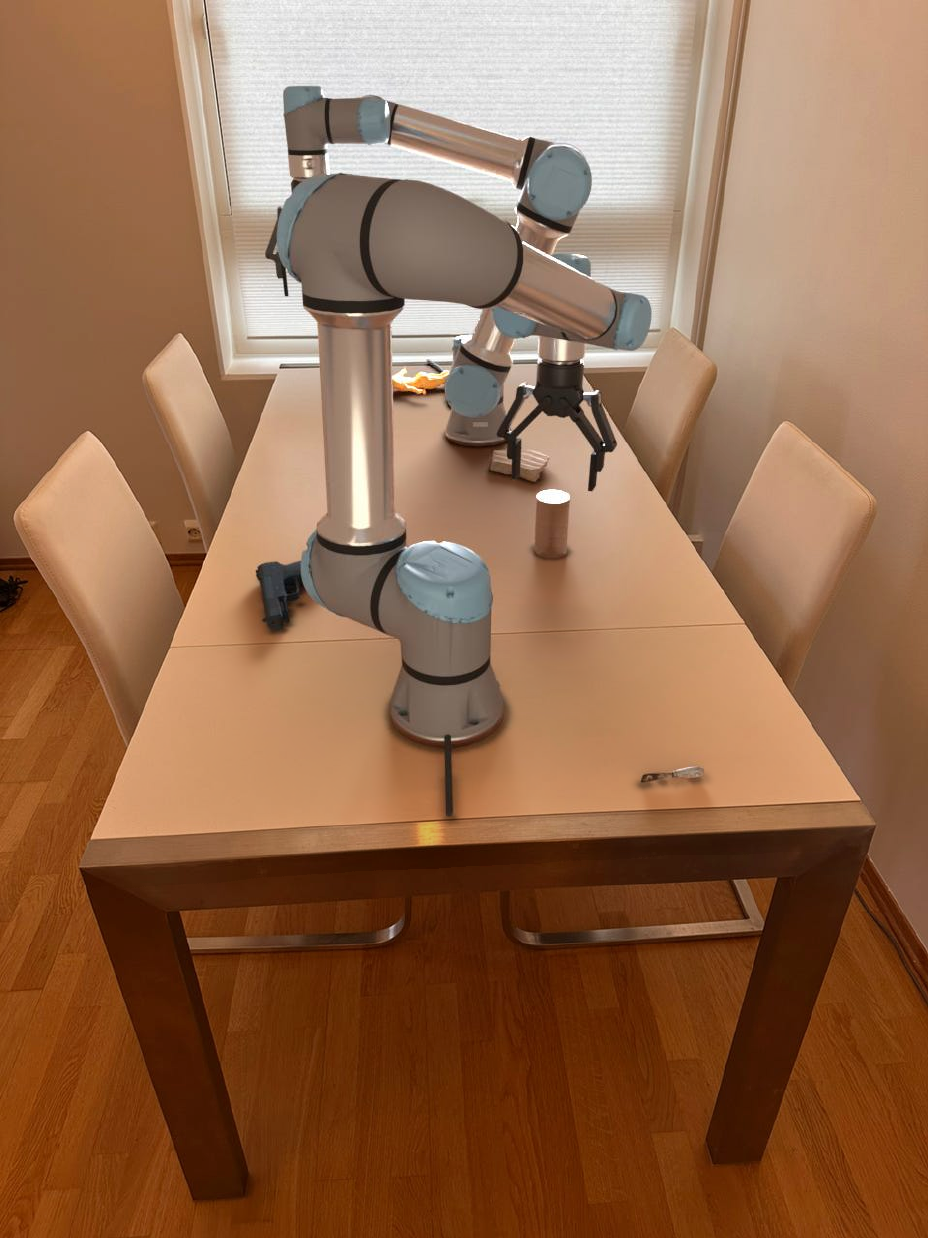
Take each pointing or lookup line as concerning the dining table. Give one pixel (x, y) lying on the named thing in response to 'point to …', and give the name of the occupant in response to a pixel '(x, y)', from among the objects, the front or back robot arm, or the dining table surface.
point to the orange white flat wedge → (418, 381)
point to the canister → (551, 523)
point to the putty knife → (674, 774)
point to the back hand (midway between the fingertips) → (320, 293)
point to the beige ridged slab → (529, 463)
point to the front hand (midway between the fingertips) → (553, 482)
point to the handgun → (278, 590)
